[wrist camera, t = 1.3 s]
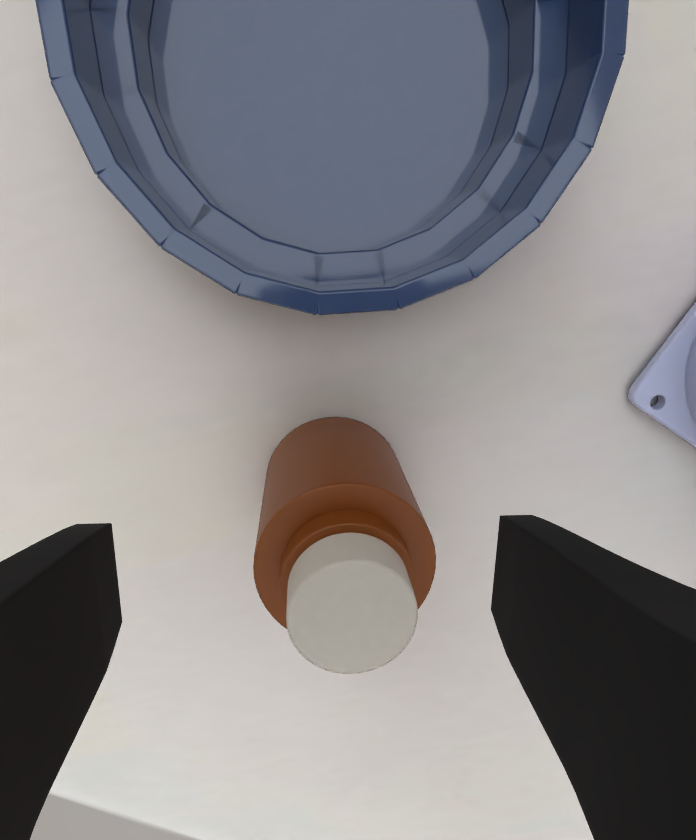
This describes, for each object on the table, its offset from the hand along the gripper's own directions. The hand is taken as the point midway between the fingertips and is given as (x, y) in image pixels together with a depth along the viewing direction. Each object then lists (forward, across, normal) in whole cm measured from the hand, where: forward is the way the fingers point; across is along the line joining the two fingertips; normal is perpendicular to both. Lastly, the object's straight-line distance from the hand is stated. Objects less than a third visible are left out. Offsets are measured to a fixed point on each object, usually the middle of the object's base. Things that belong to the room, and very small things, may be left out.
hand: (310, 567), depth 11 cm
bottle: (+10, -1, +2) cm, 10 cm away
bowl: (+10, -1, -11) cm, 15 cm away
